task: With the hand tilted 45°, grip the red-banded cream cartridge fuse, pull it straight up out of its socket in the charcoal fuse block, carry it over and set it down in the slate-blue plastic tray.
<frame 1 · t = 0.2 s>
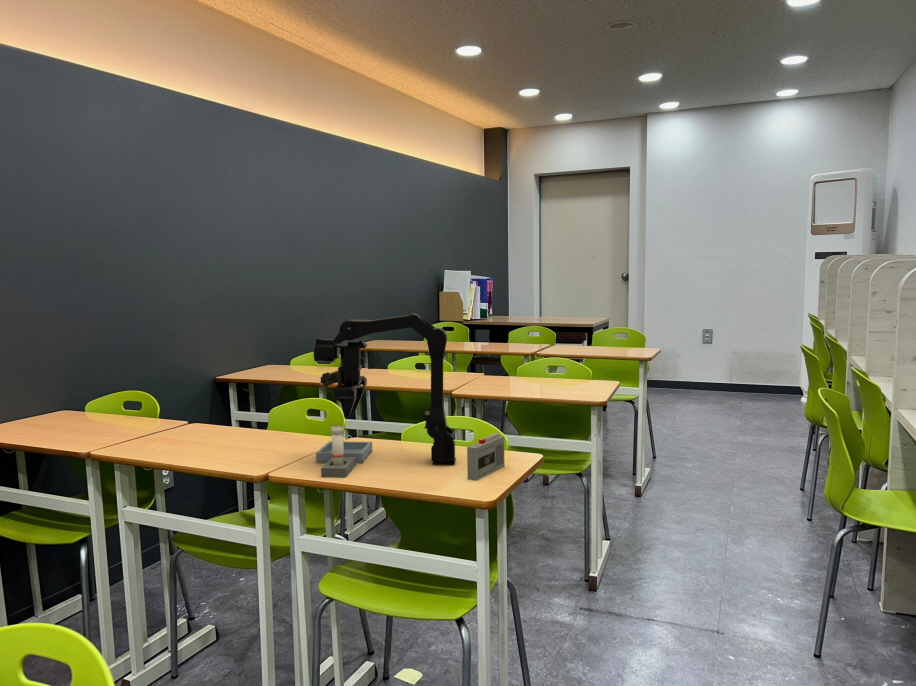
hand: (350, 414, 194), 14 cm above the table, fingers open, 9 cm apart
cassette player: (486, 473, 183), on the table
fuse: (338, 471, 185), resting in fuse block
fuse block: (339, 470, 186), on the table
tray: (345, 456, 201), on the table
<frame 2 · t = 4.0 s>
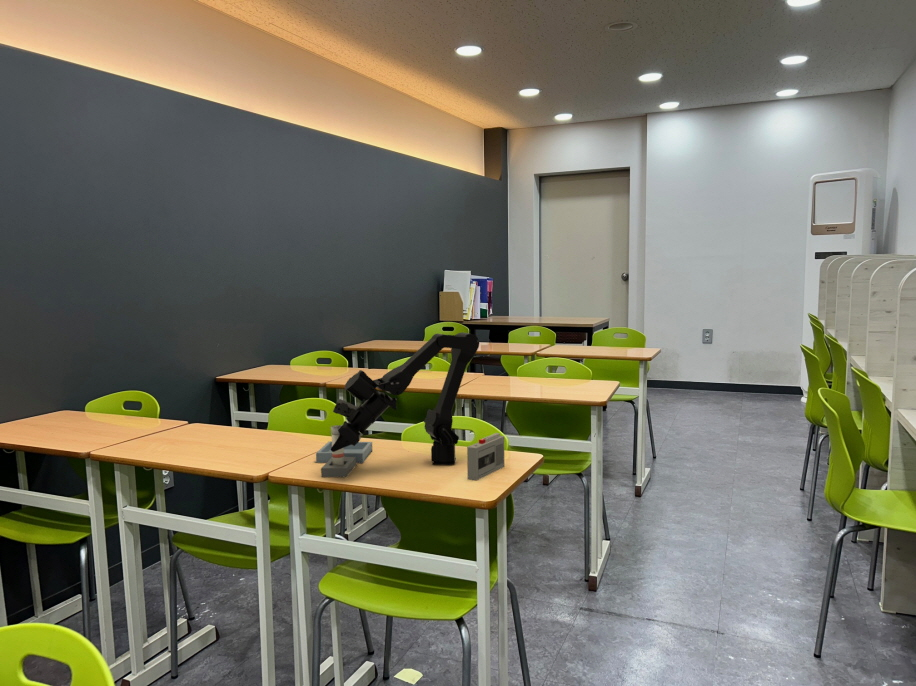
hand: (332, 449, 184), 7 cm above the table, fingers closed on fuse, 3 cm apart
fuse: (338, 471, 185), resting in fuse block, touching gripper
everything else where it was.
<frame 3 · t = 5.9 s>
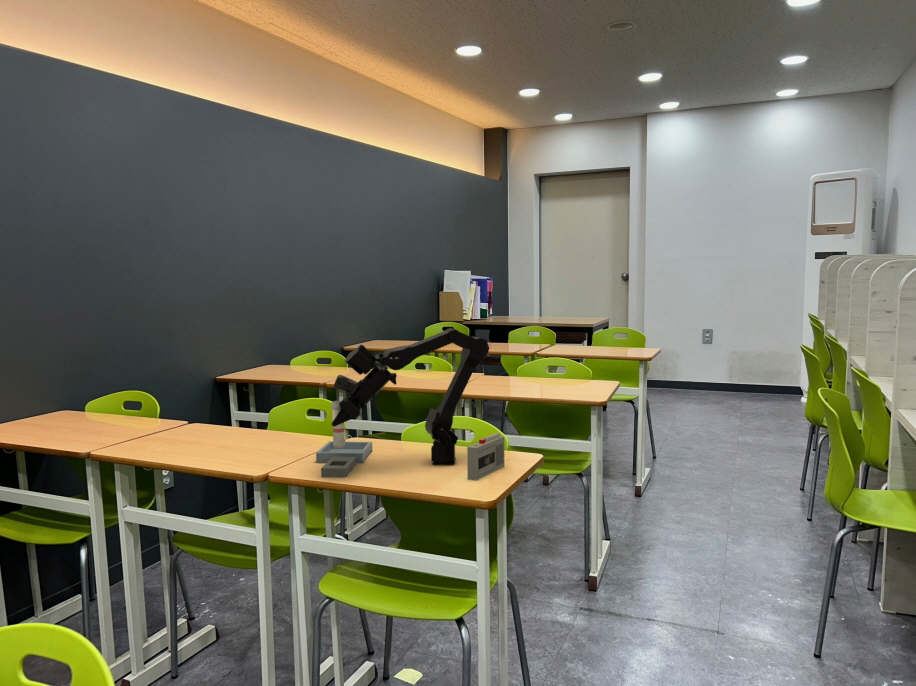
hand: (333, 424, 186), 13 cm above the table, fingers closed on fuse, 3 cm apart
fuse: (339, 446, 186), point 7 cm above the table, touching gripper
everything else where it was.
when the fingers open (9 cm above the table, at t = 8.0 s): fuse drops 1 cm, resting on tray.
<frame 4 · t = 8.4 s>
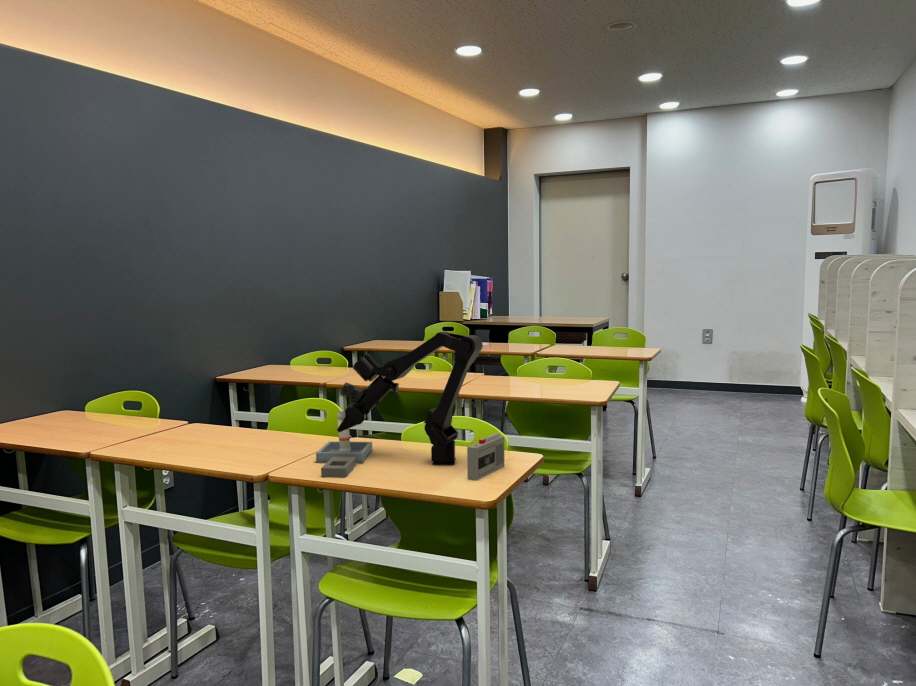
hand: (340, 428, 200), 9 cm above the table, fingers open, 7 cm apart
fuse: (345, 454, 201), point 1 cm above the table, touching tray
everything else where it was.
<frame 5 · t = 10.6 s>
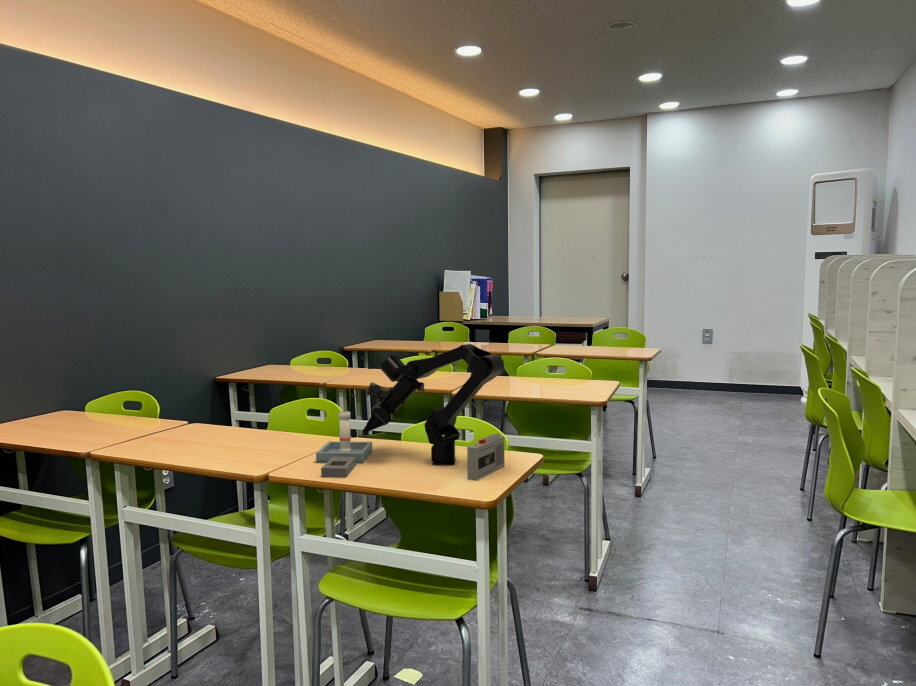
hand: (365, 428, 200), 9 cm above the table, fingers open, 9 cm apart
nothing on the table moved.
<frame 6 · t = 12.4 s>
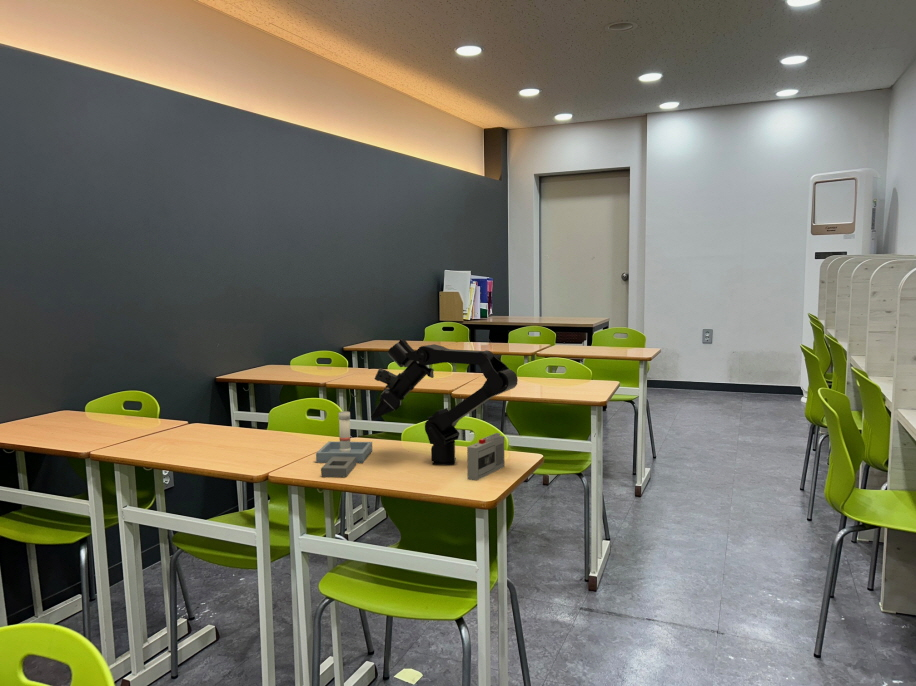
hand: (373, 414, 197), 14 cm above the table, fingers open, 9 cm apart
nothing on the table moved.
at the end: fuse inside the target area on the tray (0.0 cm from its centre), point 0.8 cm above the tray's base; the gripper is holding nothing; fuse touching tray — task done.
